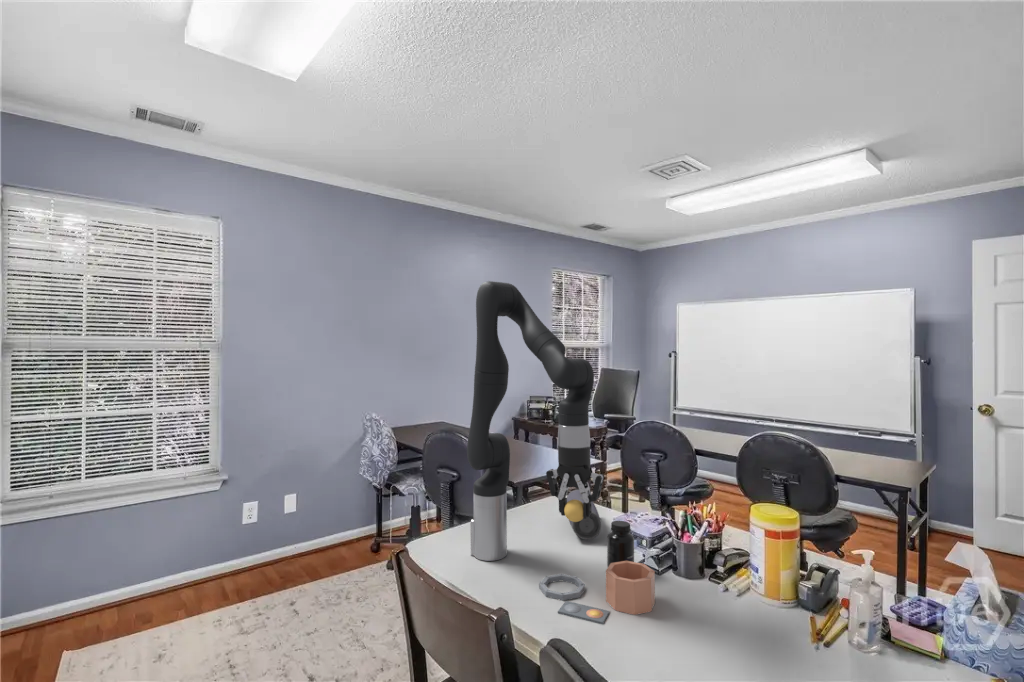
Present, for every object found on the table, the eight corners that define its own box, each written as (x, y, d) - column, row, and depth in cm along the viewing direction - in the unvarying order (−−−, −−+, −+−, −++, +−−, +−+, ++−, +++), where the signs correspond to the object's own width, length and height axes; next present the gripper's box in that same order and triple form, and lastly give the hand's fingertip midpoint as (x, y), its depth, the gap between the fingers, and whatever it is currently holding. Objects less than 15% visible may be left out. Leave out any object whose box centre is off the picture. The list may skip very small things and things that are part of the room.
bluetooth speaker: (603, 544, 147) (603, 509, 147) (571, 544, 147) (571, 509, 147) (592, 517, 170) (591, 487, 170) (564, 517, 170) (564, 487, 170)
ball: (561, 523, 117) (560, 501, 117) (568, 516, 122) (568, 495, 122) (581, 526, 115) (581, 504, 115) (588, 519, 120) (588, 498, 120)
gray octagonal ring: (534, 593, 118) (534, 588, 118) (550, 576, 127) (550, 571, 127) (575, 603, 113) (575, 598, 113) (588, 584, 122) (588, 579, 122)
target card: (557, 613, 109) (557, 610, 109) (565, 602, 114) (565, 600, 114) (602, 624, 105) (602, 621, 105) (609, 612, 109) (609, 610, 109)
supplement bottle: (634, 577, 126) (634, 529, 126) (607, 575, 127) (606, 527, 127) (633, 565, 133) (633, 519, 133) (607, 563, 134) (607, 518, 134)
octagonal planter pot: (602, 607, 112) (602, 575, 112) (614, 587, 120) (614, 558, 121) (648, 618, 107) (648, 585, 107) (657, 596, 116) (657, 566, 116)
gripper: (539, 444, 119) (540, 517, 118) (598, 448, 112) (600, 525, 112) (551, 439, 125) (553, 507, 125) (608, 442, 119) (609, 515, 119)
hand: (575, 515), depth 119 cm, fingers closed on ball, 5 cm apart
